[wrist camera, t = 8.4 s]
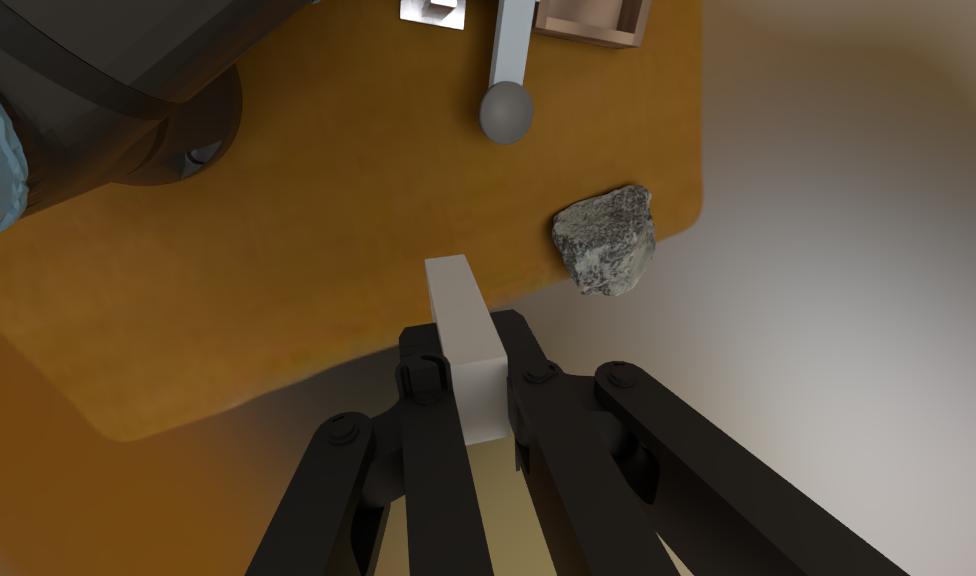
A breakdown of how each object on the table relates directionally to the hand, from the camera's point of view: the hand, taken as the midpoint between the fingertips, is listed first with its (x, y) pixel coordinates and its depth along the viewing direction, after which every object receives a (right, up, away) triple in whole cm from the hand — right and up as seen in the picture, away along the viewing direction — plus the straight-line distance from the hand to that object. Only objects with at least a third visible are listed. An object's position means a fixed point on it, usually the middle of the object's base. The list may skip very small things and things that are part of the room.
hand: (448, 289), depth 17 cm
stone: (+12, +6, +30) cm, 33 cm away
